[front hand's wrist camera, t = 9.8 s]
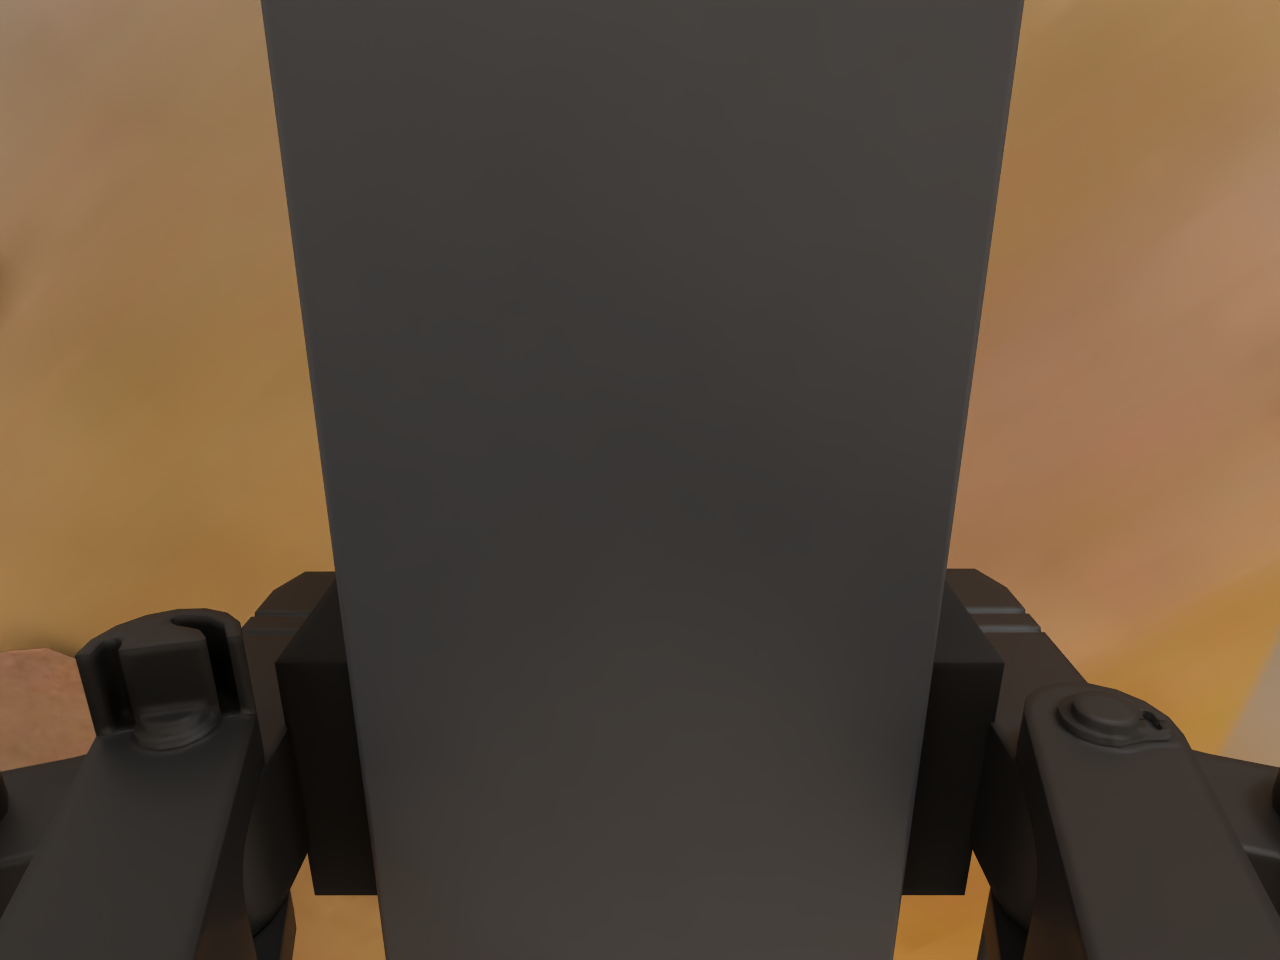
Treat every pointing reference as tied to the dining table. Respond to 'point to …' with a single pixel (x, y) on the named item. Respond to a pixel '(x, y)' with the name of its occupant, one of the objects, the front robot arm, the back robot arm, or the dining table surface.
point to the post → (641, 447)
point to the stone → (41, 709)
